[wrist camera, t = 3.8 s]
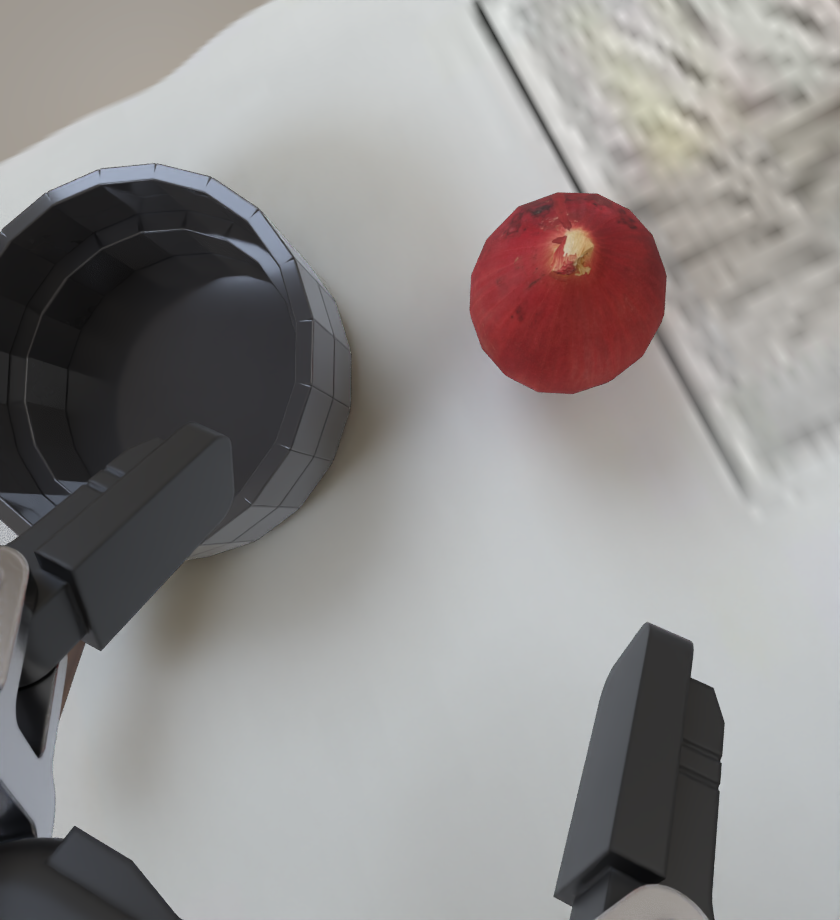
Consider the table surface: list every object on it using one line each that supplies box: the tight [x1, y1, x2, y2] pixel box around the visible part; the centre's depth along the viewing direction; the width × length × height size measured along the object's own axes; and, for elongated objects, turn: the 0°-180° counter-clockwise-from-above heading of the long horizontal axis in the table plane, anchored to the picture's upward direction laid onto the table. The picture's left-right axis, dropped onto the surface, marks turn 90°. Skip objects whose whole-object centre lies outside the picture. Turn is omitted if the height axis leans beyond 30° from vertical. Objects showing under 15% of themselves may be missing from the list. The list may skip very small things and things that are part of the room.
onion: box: [470, 193, 667, 394], centre depth 19 cm, size 6×6×8 cm
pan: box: [0, 163, 351, 560], centre depth 23 cm, size 13×13×5 cm
